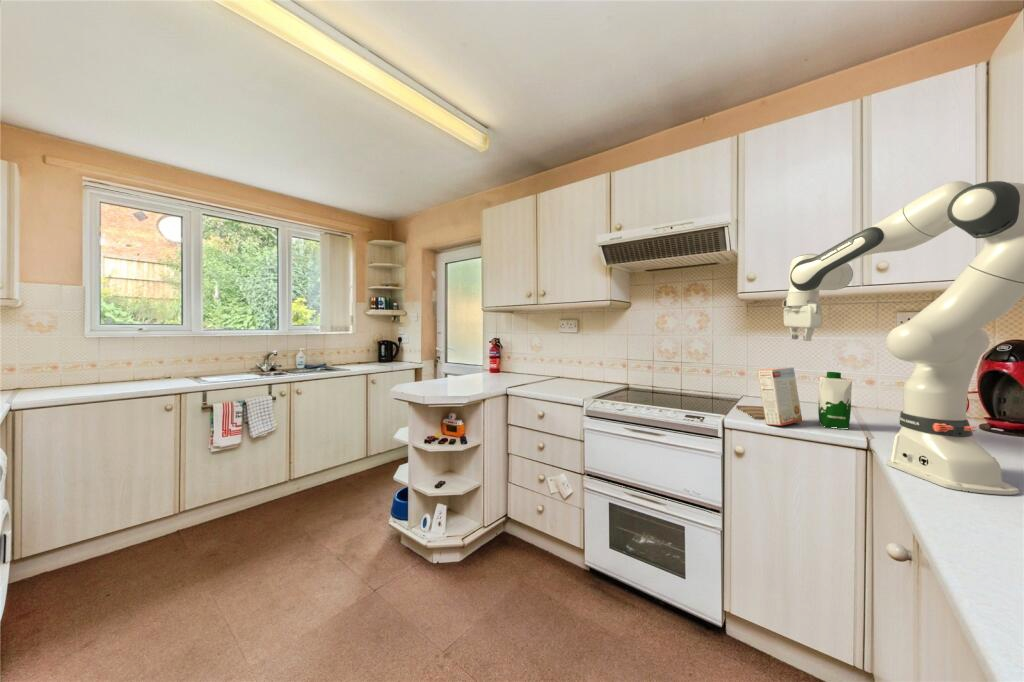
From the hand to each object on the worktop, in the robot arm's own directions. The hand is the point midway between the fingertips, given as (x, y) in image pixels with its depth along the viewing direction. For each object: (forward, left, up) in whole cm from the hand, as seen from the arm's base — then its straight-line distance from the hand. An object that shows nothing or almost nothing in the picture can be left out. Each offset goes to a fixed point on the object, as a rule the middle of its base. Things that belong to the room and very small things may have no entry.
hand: (800, 340), depth 134 cm
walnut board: (+23, +1, -32) cm, 40 cm away
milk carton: (+7, -15, -33) cm, 37 cm away
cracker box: (+6, +2, -32) cm, 33 cm away
